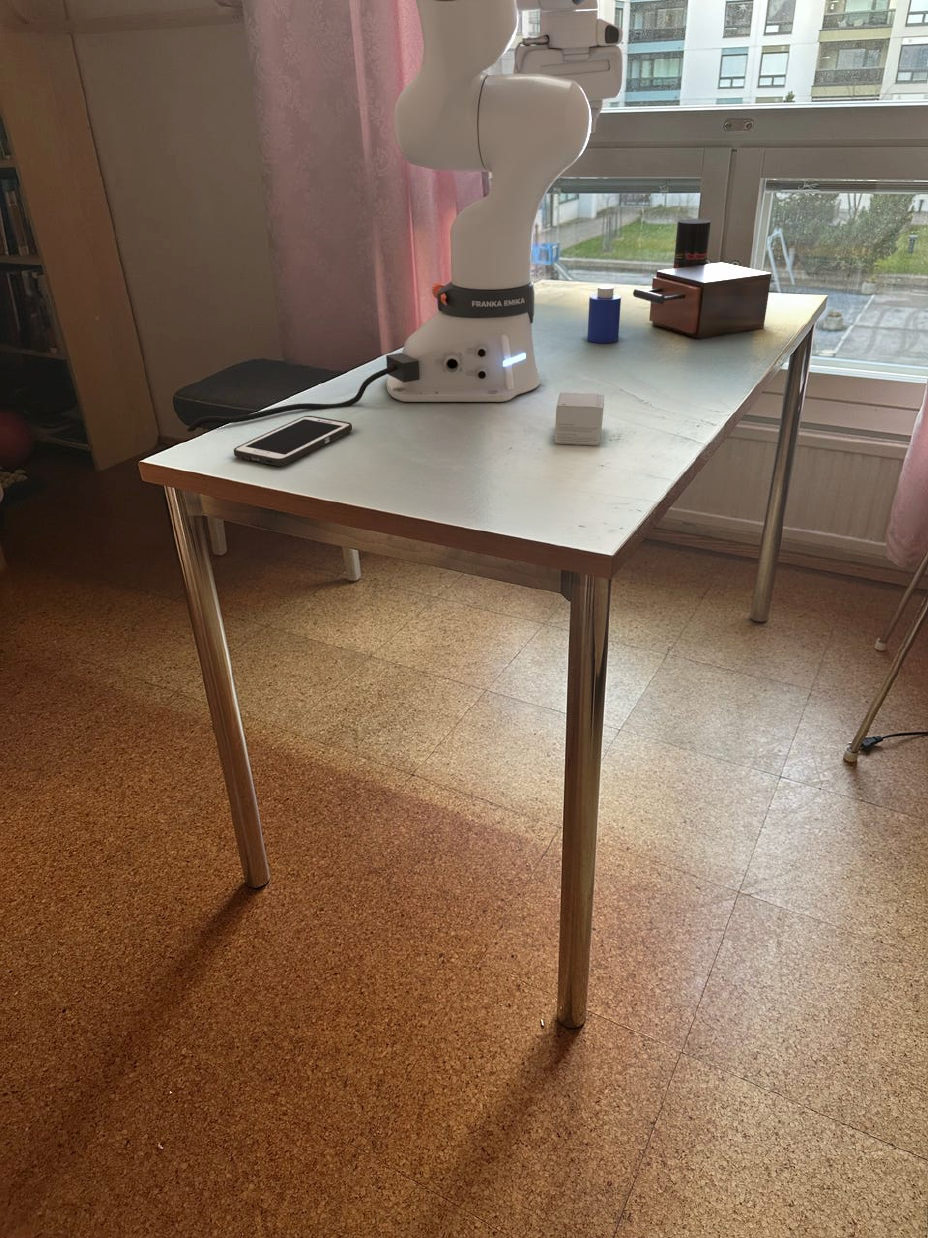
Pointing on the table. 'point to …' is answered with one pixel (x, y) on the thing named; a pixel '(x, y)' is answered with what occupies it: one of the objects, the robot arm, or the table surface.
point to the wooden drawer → (673, 303)
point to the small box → (579, 418)
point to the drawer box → (724, 297)
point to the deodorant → (691, 242)
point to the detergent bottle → (604, 316)
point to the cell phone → (292, 440)
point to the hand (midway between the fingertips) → (566, 135)
